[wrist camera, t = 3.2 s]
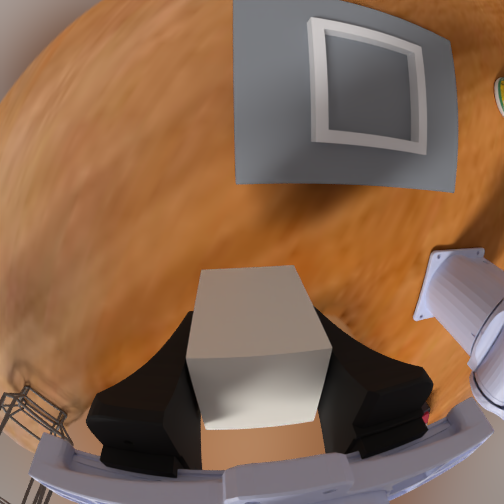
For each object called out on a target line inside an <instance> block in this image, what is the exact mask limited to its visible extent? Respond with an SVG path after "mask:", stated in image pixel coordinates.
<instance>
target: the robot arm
mask: <svg viewBox="0 0 504 504" xmlns="http://www.w3.org/2000/svg"><path fill="white" fill-rule="evenodd" d="M484 252H485V249H484V248H482V247H481V248H466V249H451V250H436V251H433V252H432V253H431V255H430V259H429V263H428V267H427V271H426V275H425V279H424V283H423V286H422V290H421V293H420V296H419V300H418V303H417V306H416V309H415V312H414V315H413V319H414V320H415V321H418V320H422V319H427V318H431V317H435V318H436V319H437V320H438V321H439V322H440V323H441V324H442V325H443V326H444V327H445V329H446V330H447V331H448V332H449V333H450V334H451V335H452V336H453V337H454V339H455V340H456V341H457V342H458V343H459V344H460V345H461V347H462V348H463V349H464V350H465V351H466V352H467V354H468V355H469V356H470V357H471V358H470V359H469V361H468V363H467V364H468V366H469V367H470V368H471V369H472V372H471V374H470V386H471V390H472V393H473V395H474V397H475V399H476V400H477V401H478V403H479V404H480V405H481V406H482V407H484V408H485V409H486V410H488V411H490V412H493V413H495V414H496V415H498V416H499V417H500V418H502V419H503V420H504V271H503V270H501V269H500V268H499V267H497V266H496V265H494V264H493V263H491V262H490V261H488V260H487V259H485V258H484V257H483V256H484ZM437 256H438V257H437ZM313 307H314V306H313ZM314 309H315V311H316V313H317V315H318V317H319V320H320V322H321V324H322V326H323V328H324V330H325V333H326V335H327V337H328V339H329V341H330V344H331V346H332V352H331V356H330V361H329V365H328V369H327V373H326V377H325V381H324V385H323V389H322V393H321V396H320V400H319V404H318V407H317V409H318V413H319V418H320V423H321V428H322V434H323V439H324V446H325V452H326V454H320V455H314V456H309V457H303V458H297V459H291V460H283V461H274V462H264V463H251V464H245V465H237V466H235V467H232V468H229V469H227V470H221V471H220V470H219V471H218V470H202V462H201V432H200V431H201V428H200V427H201V426H200V425H201V423H200V421H201V420H200V419H201V412H200V409H199V405H198V402H197V398H196V395H195V391H194V388H193V384H192V380H191V377H190V373H189V369H188V365H187V361H186V354H187V348H188V342H189V336H190V330H191V324H192V318H193V312H194V311H189V312H188V313H187V315H186V316H185V318H184V319H183V321H182V322H181V324H180V325H179V327H178V328H177V329H176V331H175V332H174V333H173V335H172V336H171V337H170V339H169V340H168V341H167V342H166V343H165V345H164V346H163V347H162V348H161V349H160V350H159V351H158V352H157V353H156V354H155V355H154V356H153V357H152V358H151V359H150V360H149V361H148V362H147V363H146V364H145V365H143V366H142V367H141V368H140V369H138V370H137V371H136V372H134V373H133V374H132V375H130V376H129V377H127V378H126V379H124V380H122V381H121V382H119V383H117V384H116V385H114V386H112V387H110V388H108V389H106V390H104V391H102V392H100V393H97V394H96V396H95V398H94V400H93V402H92V405H91V408H90V410H89V413H88V416H87V419H86V423H87V426H88V428H89V429H90V430H91V432H92V433H93V434H94V435H95V436H96V438H97V439H98V440H99V441H100V442H101V443H102V444H103V448H102V452H101V456H97V455H93V454H90V453H86V452H83V451H79V450H76V449H74V447H73V446H72V445H71V444H70V443H69V442H67V441H66V440H64V439H62V438H59V437H57V436H54V435H51V434H48V433H45V432H44V433H43V434H42V437H41V439H40V442H39V444H38V447H37V450H36V453H35V455H34V458H33V461H32V464H31V467H30V470H29V473H28V474H29V475H30V476H31V477H32V478H34V479H35V480H37V481H38V482H39V483H41V484H42V485H44V486H45V487H47V488H48V489H50V490H52V491H53V492H55V493H57V494H58V495H60V496H62V497H64V498H66V499H69V500H71V501H74V502H76V503H79V504H389V501H390V500H392V499H394V498H396V497H399V496H401V495H403V494H405V493H407V492H409V491H411V490H413V489H415V488H417V487H419V486H421V485H423V484H424V483H426V482H428V481H430V480H432V479H434V478H435V477H437V476H439V475H440V474H442V473H444V472H445V471H447V470H449V469H450V468H452V467H453V466H455V465H456V464H458V463H460V462H461V461H463V460H464V459H466V458H467V457H468V456H469V455H470V454H472V453H473V452H474V451H475V450H476V449H477V448H478V447H479V446H480V445H482V444H483V443H484V442H485V441H486V440H487V439H488V438H489V437H490V436H491V435H492V434H493V433H494V429H493V428H492V426H491V424H490V423H489V421H488V420H487V418H486V417H485V415H484V414H483V412H482V411H481V409H480V408H479V406H478V405H477V403H476V402H475V400H474V399H473V397H470V398H468V399H466V400H464V401H463V402H461V403H459V404H457V405H456V406H455V407H453V408H452V409H451V410H450V412H449V413H448V414H447V417H445V418H443V419H441V420H439V421H437V422H434V423H432V424H430V425H428V426H426V424H425V422H424V420H423V418H422V417H423V415H424V412H423V410H422V408H421V407H422V406H423V404H424V403H425V401H426V400H427V398H428V397H429V395H430V393H431V391H432V389H433V382H432V380H431V379H430V377H429V376H428V374H427V373H426V371H425V370H424V369H423V367H419V366H415V365H411V364H407V363H404V362H400V361H398V360H395V359H392V358H389V357H387V356H384V355H382V354H380V353H378V352H376V351H374V350H372V349H370V348H368V347H366V346H365V345H363V344H361V343H360V342H358V341H356V340H355V339H353V338H352V337H350V336H349V335H348V334H346V333H345V332H343V331H342V330H341V329H339V328H338V327H337V326H336V325H335V324H333V323H332V322H331V321H330V320H329V319H328V318H326V317H325V316H324V315H323V314H322V313H321V312H320V311H319V310H318V309H317V308H315V307H314Z"/></svg>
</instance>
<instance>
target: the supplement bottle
mask: <svg viewBox="0 0 504 504" xmlns="http://www.w3.org/2000/svg"><path fill="white" fill-rule="evenodd" d="M494 93H495V99H496V103H497V106H498V108H499V111H500V113H501V114H502V116H503V117H504V77H500V78H498V79H497V80H496V82H495V85H494Z"/></svg>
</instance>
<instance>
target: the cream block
mask: <svg viewBox="0 0 504 504" xmlns="http://www.w3.org/2000/svg"><path fill="white" fill-rule="evenodd" d="M331 352H332V346H331V344H330V341H329V339H328V337H327V335H326V333H325V330H324V328H323V326H322V324H321V322H320V320H319V317H318V315H317V313H316V311H315V309H314V307H313V305H312V303H311V300H310V298H309V296H308V294H307V292H306V290H305V288H304V286H303V284H302V282H301V280H300V277H299V275H298V273H297V271H296V269H295V267H294V265H289V266H271V267H252V268H232V269H211V270H201V275H200V280H199V285H198V291H197V296H196V301H195V307H194V312H193V318H192V324H191V330H190V336H189V342H188V348H187V354H186V361H187V365H188V369H189V373H190V377H191V380H192V384H193V388H194V391H195V395H196V398H197V402H198V405H199V409H200V412H201V415H202V418H203V422H204V424H205V428H206V430H224V429H248V428H261V427H272V426H281V425H289V424H297V423H304V422H310V421H314V417H315V414H316V411H317V407H318V404H319V400H320V396H321V393H322V389H323V385H324V381H325V377H326V373H327V369H328V365H329V361H330V356H331Z"/></svg>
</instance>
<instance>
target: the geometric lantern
mask: <svg viewBox="0 0 504 504" xmlns="http://www.w3.org/2000/svg"><path fill="white" fill-rule="evenodd" d="M26 388H27V390H26ZM29 389H30V390H31V391H33V392H34V393H35V394H36V395H38V396H39V397H40V398H42V399H43V400H44V401H46V402H47V403H49V404H50V405H51V406H53V407H54V408H56V409H57V410H59V411H60V413H59V416H58V418H57V419H55V418H54V417H53V416H51V415H50V414H49V413H47V412H46V411H45V410H43V409H42V408H41V407H40V406H38V405H37V404H36V403H35V402H33V401H32V400H31V399H30V398H28V397H27V396H26V395H27V393H28V391H29ZM25 391H26V392H25ZM14 395H18V396H14ZM6 396H8V397H10V398H13V400H12V402H11V404H10V405H3V403H4V401H5V398H6ZM21 397H22V399H21ZM24 397H26V398H27V399H28V400H29V401H30V402H32V403H33V404H34V405H35V406H36V407H38V408H39V409H40V410H42V411H43V412H44V413H46V414H47V415H48V416H50V417H51V418H52V419H54V420H55V421H56V422H58V423H54V422H53V421H51V420H50V419H48V418H47V417H46V416H44V415H43V414H41V413H40V412H38V411H37V410H36V409H34V408H33V407H32V406H30V405H29V404H28V403H27V402H26V401H25V400H24V399H23V398H24ZM18 398H19V399H18ZM16 401H17V402H18V404H15V402H16ZM23 401H24V402H25V404H24V403H23ZM20 405H22V406H23V407H22V408H21V406H20ZM26 405H28V406H29V407H30V408H32V409H33V410H34V411H36V412H37V413H38V414H40V415H41V416H43V417H44V418H46V419H47V420H48V421H50V422H51V423H53V426H51V425H49V424H48V423H47V422H45V421H44V420H43V419H42V418H40V417H39V416H38V415H37V414H35V413H34V412H33V411H32V410H31V409H29V408H28V407H27V406H26ZM15 406H19V408H20V409H18V410H17V411H15V412H13V413H12V414H10V413H11V410H12V408H13V407H15ZM4 407H9V408H8V410H7V411H6V409H5V408H4ZM1 408H2V409H3V410H4V412H5V413H6V414H5V416H4V419H3V421H2V423H1V425H0V434H1V432H2V430H3V428H4V426H5V425H6V423H7V421H8V419H9V417H10V418H11V419H12V420H13V421H14V422H16V423H17V424H18V425H19V426H21V427H22V428H23V429H24V430H26V431H27V432H28V433H30V434H31V435H32V436H34V437H35V438H36V439H38V440H39V441H40V438H39V437H38V436H36V435H35V434H33V433H32V432H31V431H29V430H28V429H27V428H26V427H24V426H23V425H22V424H20V423H19V422H18V421H17V420H16V419H14V418H13V417H12V415H14V414H16V413H17V412H19V411H21V410H22V411H23V412H24V413H25V414H27V415H28V416H29V417H31V418H32V419H33V420H35V421H36V422H38V423H39V424H40V425H42V426H43V427H45V428H46V429H48V430H49V431H50V434H51V435H52V432H53V433H54V436H56V433H57V434H58V435H59V436H61V438H62V439H65V440H66V441H67V442H69V443H70V444H71V445H72V446H73V442H72V440H71V439H70V437H69V435H68V433H67V432H66V430H65V428H64V426H63V422H64V420H65V419H66V418H67V415H66V414H65V413H64V412H63V411H62V410H61V409H59V408H58V407H56V406H55V405H53V404H52V403H50V402H49V401H48V400H46V399H45V398H44V397H42V396H41V395H40V394H38V393H37V392H36V391H34V390H33V389H32V388H31V387H29V386H24V388H23V389H22V391H21V392H20V393H6V392H4V393H3V395H2V397H1V399H0V410H1ZM24 408H25V409H26V410H27V411H28V412H30V413H31V414H32V415H33V416H34V417H36V418H37V419H38V420H39V421H41V422H42V423H43V424H45V425H46V426H47V427H46V426H45V425H43V424H42V423H40V422H39V421H38V420H36V419H35V418H33V417H32V416H31V415H29V414H28V413H27V412H25V411H24V410H23V409H24ZM62 413H63V414H64V415H65V416H63V419H62V420H61V422H60V421H59V419H60V417H61V415H62ZM55 425H57V427H56V429H55V428H54V427H55ZM61 426H62V427H61ZM48 427H49V428H50V429H49V428H48ZM59 428H60V430H61V433H60V432H59V431H58V430H59ZM62 428H63V430H64V432H65V434H66V435H67V437H68V438H67V437H65V436H64V433H63V430H62ZM52 430H53V431H52ZM33 481H34V478H31V480H30V483H29V485H28V488H27V490H26V493H25V496H24V498H23V501H22V504H25V502H26V500H27V496H28V494H29V491H30V489H31V486H32V484H33ZM45 490H46V487H45V486H44V485H42V484H40V487H39V489H38V491H37V494H36V496H35V499H34V501H33V504H36V502H37V500H38V502H37V504H41V503H42V499H43V496H44V493H45ZM52 492H53V491H52V490H49V492H48V494H47V497H46V499H45V502H44V504H48V502H49V500H50V497H51V495H52ZM39 495H40V496H39ZM38 497H39V499H38ZM0 499H2V500H3V501H5V502H6V503H8V504H10V503H9V502H7V501H6V500H4V499H3V498H1V497H0ZM0 503H1V504H4V503H3V502H2V501H0Z"/></svg>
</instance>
